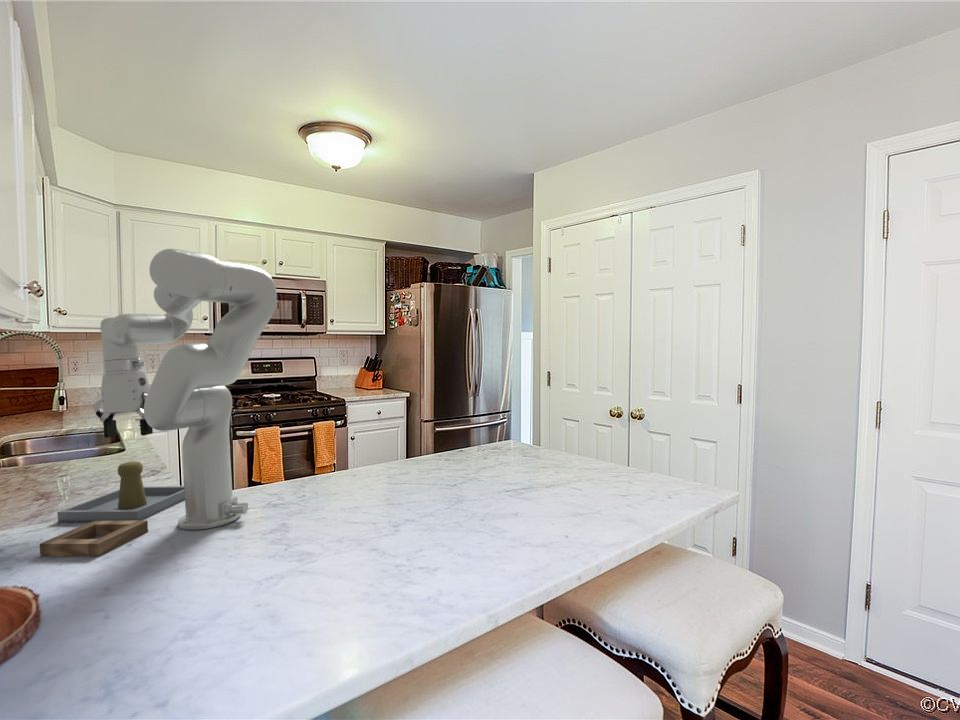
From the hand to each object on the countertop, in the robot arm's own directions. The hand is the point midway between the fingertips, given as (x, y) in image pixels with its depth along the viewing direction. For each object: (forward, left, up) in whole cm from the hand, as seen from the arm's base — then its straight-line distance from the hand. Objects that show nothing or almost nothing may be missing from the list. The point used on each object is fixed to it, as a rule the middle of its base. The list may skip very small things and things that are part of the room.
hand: (128, 435), depth 124 cm
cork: (0, 0, -18) cm, 18 cm away
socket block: (-10, +22, -18) cm, 30 cm away
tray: (+1, 0, -18) cm, 18 cm away
